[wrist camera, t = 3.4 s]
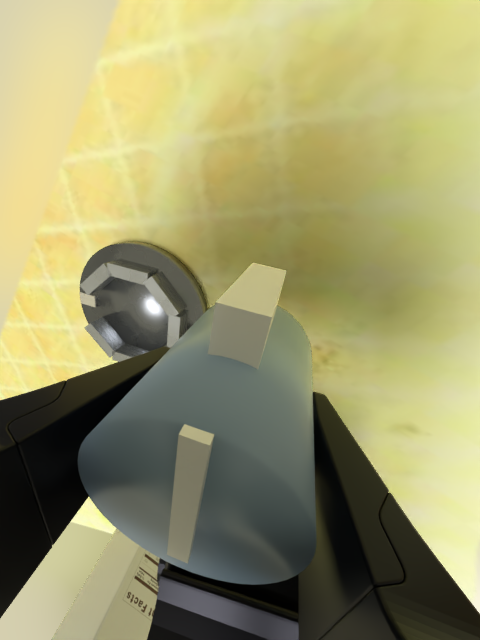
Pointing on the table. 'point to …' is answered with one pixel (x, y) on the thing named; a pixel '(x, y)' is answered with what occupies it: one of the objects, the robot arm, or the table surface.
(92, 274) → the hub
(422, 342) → the table surface
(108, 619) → the supplement box
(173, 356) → the knob
